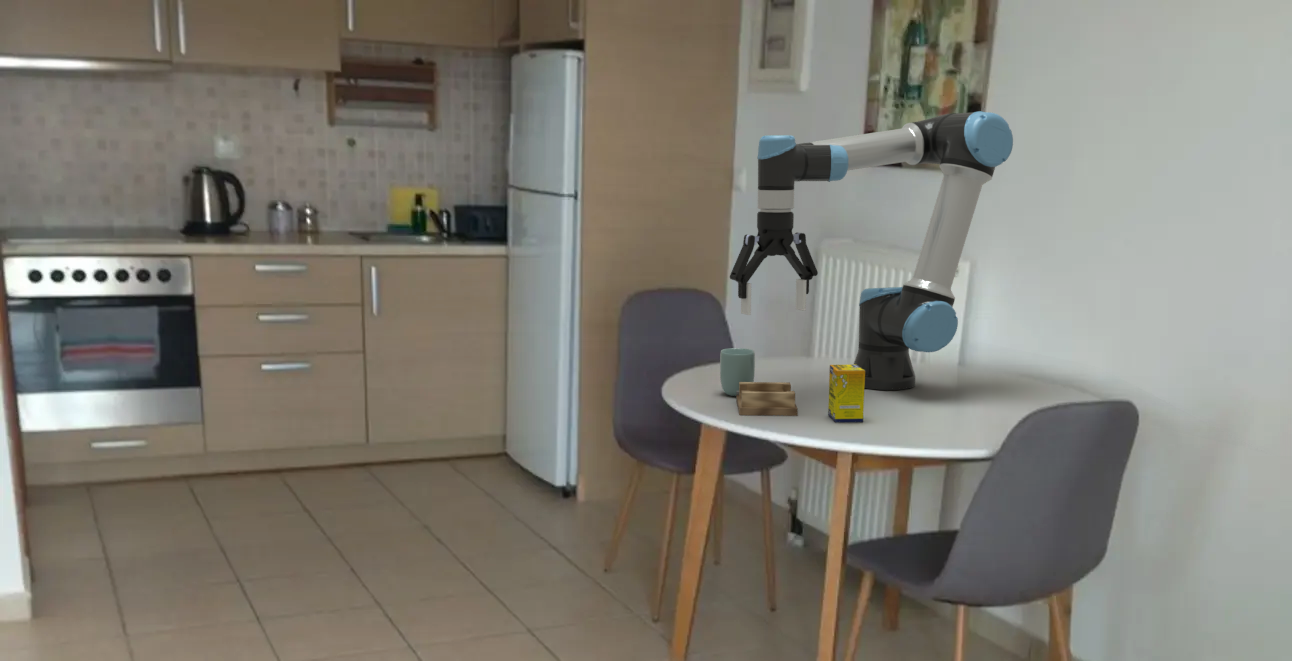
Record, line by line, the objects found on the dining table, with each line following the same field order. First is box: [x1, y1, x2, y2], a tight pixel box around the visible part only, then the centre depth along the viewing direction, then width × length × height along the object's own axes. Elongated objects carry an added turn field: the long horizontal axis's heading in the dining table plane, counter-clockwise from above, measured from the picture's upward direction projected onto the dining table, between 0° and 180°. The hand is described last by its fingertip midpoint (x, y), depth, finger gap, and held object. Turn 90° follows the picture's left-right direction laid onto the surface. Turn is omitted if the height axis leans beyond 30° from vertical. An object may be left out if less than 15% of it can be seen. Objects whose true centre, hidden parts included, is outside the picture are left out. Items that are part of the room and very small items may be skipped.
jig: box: [735, 381, 799, 417], centre depth 232 cm, size 12×13×4 cm
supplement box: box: [827, 363, 865, 424], centre depth 222 cm, size 6×6×11 cm
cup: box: [719, 347, 756, 397], centre depth 245 cm, size 8×8×10 cm
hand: (773, 312), depth 229 cm, fingers open, 13 cm apart
